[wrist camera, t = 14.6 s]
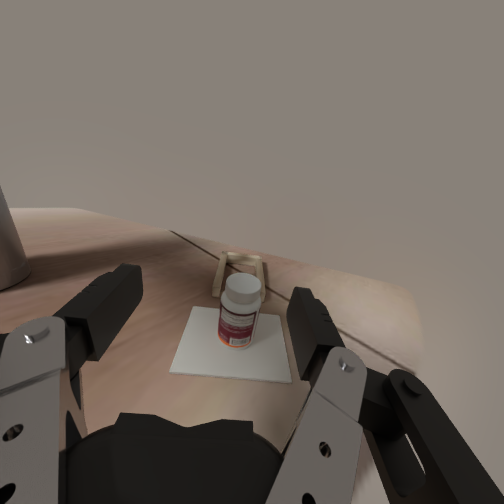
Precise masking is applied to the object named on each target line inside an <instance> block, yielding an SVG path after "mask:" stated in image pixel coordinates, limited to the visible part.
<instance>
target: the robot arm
mask: <svg viewBox="0 0 504 504" xmlns="http://www.w3.org/2000/svg"><path fill="white" fill-rule="evenodd" d="M30 272H31V268H30V266H29V263H28V260H27V257H26V255H25V252H24V249H23V246H22V243H21V241H20V238H19V235H18V233H17V230H16V227H15V225H14V222H13V219H12V216H11V214H10V211H9V208H8V206H7V203H6V200H5V198H4V195H3V193H2V189H1V187H0V290H2V289H5V288H8V287H10V286H12V285H14V284H17V283H19V282H20V281H22V280H23V279H25V278H26V277H27V276H28V275H29V274H30ZM142 296H143V282H142V271H141V267H140V266H139V265H131V264H124V263H123V264H121V265H120V266H119V267H118V268H116V269H115V270H114V271H113V272H108V273H106V274H103V275H101V276H99V277H97V278H96V279H95V280H94V281H92V282H91V283H90V284H89V286H87V287H85V288H84V289H83V290H82V292H80V293H78V294H77V295H76V296H75V297H74V298H73V299H71V300H70V301H69V302H68V303H67V304H66V305H64V306H63V307H62V308H61V309H60V310H58V311H57V312H56V313H55V314H54V315H53V316H49V317H42V318H37V319H34V320H31V321H28V322H26V323H24V324H22V325H20V326H19V327H17V328H16V329H14V330H13V331H12V332H11V333H6V334H0V504H351V499H352V493H353V487H354V481H355V475H356V469H357V463H358V457H359V451H360V445H361V439H362V432H364V434H365V437H366V440H367V443H368V445H369V448H370V451H371V454H372V456H373V459H374V462H375V465H376V467H377V470H378V473H379V476H380V478H381V481H382V484H383V487H384V489H385V492H386V495H387V497H388V500H389V503H390V504H504V496H503V494H502V493H501V492H500V490H499V489H498V487H497V486H496V484H495V483H494V482H493V480H492V479H491V477H490V476H489V475H488V473H487V472H486V470H485V469H484V467H483V466H482V465H481V463H480V462H479V460H478V459H477V458H476V456H475V455H474V453H473V452H472V450H471V449H470V447H469V446H468V445H467V443H466V442H465V440H464V439H463V437H462V436H461V435H460V433H459V432H458V430H457V429H456V428H455V426H454V425H453V423H452V422H451V420H450V419H449V418H448V416H447V415H446V413H445V412H444V410H443V409H442V408H441V406H440V405H439V404H438V402H437V401H436V399H435V398H434V396H433V395H432V393H431V392H430V391H429V389H428V388H427V387H426V386H425V385H424V383H422V382H421V381H420V380H419V379H418V378H417V377H415V376H414V375H412V374H411V373H409V372H407V371H404V370H401V369H394V370H392V371H391V372H390V373H389V375H388V376H387V375H385V374H382V373H380V372H377V371H375V370H372V369H369V368H367V367H366V366H365V364H364V363H363V361H362V360H361V359H360V357H359V356H358V355H356V354H355V353H354V352H352V351H351V350H349V349H347V348H346V347H345V345H344V343H343V341H342V339H341V337H340V335H339V333H338V331H337V329H336V327H335V325H334V323H333V321H332V319H331V317H330V316H329V312H328V310H327V308H326V306H325V305H324V304H323V303H322V302H321V301H320V300H319V299H314V296H313V294H312V292H311V290H310V289H309V288H302V287H295V288H294V290H293V293H292V296H291V299H290V302H289V305H288V308H287V323H288V327H289V332H290V336H291V340H292V345H293V349H294V354H295V358H296V362H297V367H298V371H299V376H300V380H304V381H309V382H310V385H311V388H310V390H309V392H308V395H307V397H306V399H305V401H304V403H303V406H302V408H301V410H300V412H299V414H298V417H297V419H296V421H295V423H294V426H293V428H292V430H291V432H290V434H289V436H288V438H287V440H286V442H285V444H284V446H283V449H282V451H281V453H280V452H279V451H278V450H277V449H276V448H275V447H274V446H273V445H272V444H271V443H270V442H269V441H268V440H266V439H265V438H263V437H262V436H260V435H258V434H256V433H254V432H253V421H241V420H226V419H221V420H217V421H213V422H209V423H205V424H200V425H196V426H192V427H183V426H180V425H178V424H175V423H173V422H171V421H168V420H166V419H163V418H161V417H159V416H156V415H150V414H135V413H120V415H119V417H118V419H117V421H116V423H115V424H114V425H110V426H107V427H105V428H102V429H99V430H97V431H95V432H93V433H91V434H89V435H88V432H87V427H86V422H85V416H84V403H83V388H82V374H81V369H80V368H81V367H82V365H83V364H84V363H85V361H86V360H87V361H99V360H100V358H101V357H102V355H103V354H104V353H105V351H106V350H107V348H108V347H109V345H110V344H111V343H112V341H113V340H114V338H115V337H116V335H117V334H118V333H119V331H120V330H121V328H122V327H123V326H124V324H125V323H126V321H127V320H128V318H129V317H130V316H131V314H132V313H133V311H134V310H135V308H136V307H137V306H138V304H139V303H140V301H141V299H142ZM406 433H407V435H408V437H409V439H410V441H411V443H412V445H413V447H414V449H415V451H416V453H417V455H418V456H419V459H420V461H421V463H422V465H423V467H424V471H425V473H424V471H423V470H422V468H421V466H420V464H419V462H418V460H417V458H416V456H415V454H414V452H413V450H412V448H411V446H410V444H409V442H408V440H407V438H406V436H405V434H406Z"/></svg>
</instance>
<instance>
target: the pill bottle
mask: <svg viewBox="0 0 504 504" xmlns="http://www.w3.org/2000/svg"><path fill="white" fill-rule="evenodd" d="M260 292H261V282H260V280H259V279H258V278H257V277H255V276H253V275H251V274H247V273H235V274H232V275H230V276H229V277H228V278H227V280H226V286H225V291H224V292H223V293H222V296H221V302H220V312H219V321H218V332H217V336H218V339H219V341H220V343H221V344H222V345H223V346H225V347H226V348H228V349H231V350H242V349H245V348H246V347H248V346H249V345H250V344H251V343H252V341H253V338H254V334H255V329H256V325H257V320H258V316H259V311H260V307H261V298H260Z"/></svg>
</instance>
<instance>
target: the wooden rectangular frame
mask: <svg viewBox="0 0 504 504" xmlns="http://www.w3.org/2000/svg"><path fill="white" fill-rule="evenodd" d="M226 263H233V264H241V265H249V266H255V277H257V278H258V279H259V280H260V282H261V292H260V298H261V302H264V299H265V294H266V290H265V282H264V274H263V266H262V258H261V256H254V255H247V254H239V253H232V252H224V251H222V254H221V258H220V261H219V265H218V268H217V272H216V276H215V279H214V283H213V286H212V297H220V298H221V296H222V293H223V292H224V291H220V290H221V286H222V281H223V276H224V271H225V267H226Z"/></svg>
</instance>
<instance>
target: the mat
mask: <svg viewBox="0 0 504 504" xmlns="http://www.w3.org/2000/svg"><path fill="white" fill-rule="evenodd" d="M219 312H220V309H216V308H207V307H198V306H193V309H192V311H191V314H190V317H189V319H188V322H187V325H186V328H185V330H184V333H183V336H182V338H181V341H180V344H179V347H178V349H177V352H176V355H175V357H174V360H173V363H172V365H171V368H170V371H169V373H171V374H183V375H195V376H207V377H219V378H231V379H243V380H255V381H267V382H279V383H292V379H291V373H290V368H289V363H288V358H287V352H286V347H285V342H284V337H283V331H282V326H281V321H280V316H279V315H271V314H262V313H259V316H258V320H257V325H256V329H255V334H254V338H253V341H252V343H251V344H250V345H249V346H248V347H246V348H245V349H242V350H231V349H228V348H226V347H225V346H223V345H222V344H221V343H220V341H219V339H218V336H217V332H218V321H219Z"/></svg>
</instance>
